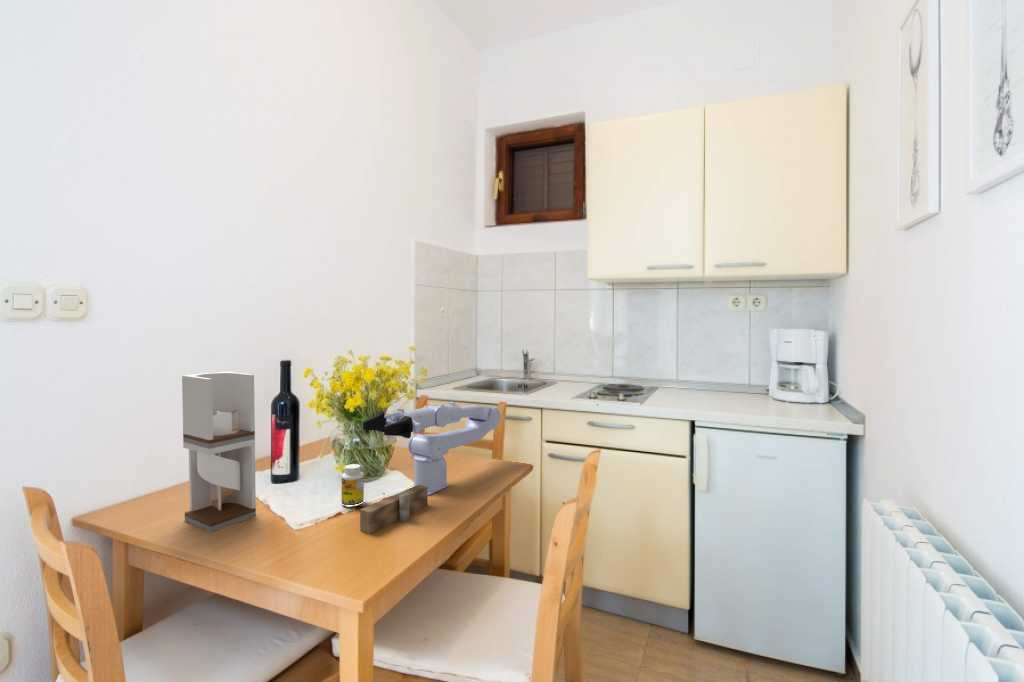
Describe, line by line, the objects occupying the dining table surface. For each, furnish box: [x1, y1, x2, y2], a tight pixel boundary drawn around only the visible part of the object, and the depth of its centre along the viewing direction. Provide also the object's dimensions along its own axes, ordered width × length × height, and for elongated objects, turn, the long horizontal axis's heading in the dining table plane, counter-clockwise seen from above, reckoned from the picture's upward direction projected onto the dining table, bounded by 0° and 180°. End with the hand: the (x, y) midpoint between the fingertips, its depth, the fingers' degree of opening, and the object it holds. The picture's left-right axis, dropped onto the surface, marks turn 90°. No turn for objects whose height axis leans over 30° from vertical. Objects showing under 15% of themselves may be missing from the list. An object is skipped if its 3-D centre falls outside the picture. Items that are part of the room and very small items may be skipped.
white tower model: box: [181, 371, 257, 533], centre depth 115 cm, size 11×11×35 cm
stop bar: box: [359, 484, 429, 535], centre depth 117 cm, size 20×5×6 cm, turn 149°
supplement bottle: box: [341, 463, 365, 505], centre depth 125 cm, size 6×6×10 cm
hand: (374, 428), depth 120 cm, fingers open, 7 cm apart
